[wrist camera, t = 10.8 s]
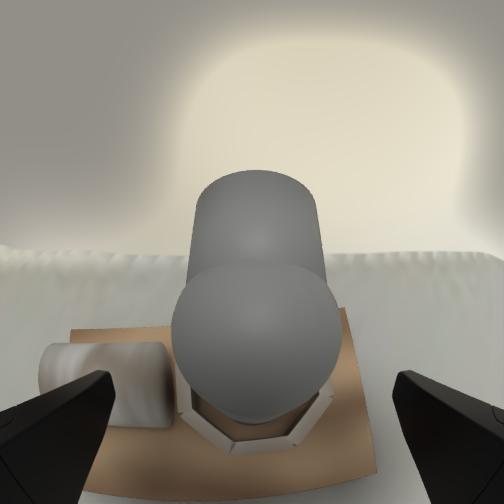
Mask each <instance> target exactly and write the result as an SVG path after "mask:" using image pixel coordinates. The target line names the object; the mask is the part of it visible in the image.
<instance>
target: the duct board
mask: <svg viewBox="0 0 504 504" xmlns="http://www.w3.org/2000/svg"><path fill="white" fill-rule="evenodd" d="M339 312H340V317H341V322H342V344H341V349H340V353H339V357H338V361H337V363H336V366H335V368H334V370H333V372H332V374H331V375H330V377H329V379H328V380H327V381H326V383H325V384H324V385H323V387H322V388H321V389H320V390H319V391H318V392H317V393H316V394H315V395H314V396H313V397H312V398H310V399H309V400H308V401H306V402H305V403H303V404H302V405H300V406H298V407H297V408H295V409H293V410H291V411H289V412H287V413H286V414H284V415H282V416H280V417H278V418H276V419H274V420H272V421H270V422H268V423H265V424H260V425H246V424H241V423H238V422H236V421H234V420H232V419H230V418H229V417H227V416H226V415H224V414H223V413H222V412H220V411H219V410H217V409H216V408H215V407H213V406H212V405H211V404H209V403H208V402H206V401H205V400H204V399H202V398H201V397H200V396H199V395H198V394H197V393H196V392H195V391H194V390H193V389H192V388H191V386H190V385H189V384H188V383H187V381H186V380H185V378H184V377H183V375H182V373H181V372H180V370H179V368H178V365H177V363H176V360H175V357H174V353H173V349H172V340H171V326H161V327H142V328H118V329H74V330H71V334H70V343H53V344H51V345H49V346H48V347H47V348H46V350H45V351H44V353H43V355H42V357H41V361H40V365H39V372H38V382H39V390H40V394H41V395H42V394H44V393H46V392H49V391H51V390H53V389H56V388H58V387H60V386H62V385H65V384H67V383H69V382H71V381H74V380H76V379H78V378H80V377H83V376H85V375H87V374H89V373H91V372H93V371H96V370H105V371H109V372H110V373H111V376H112V380H113V384H114V388H115V392H116V398H115V402H114V405H113V409H112V412H111V415H110V419H109V422H108V426H107V429H106V433H105V436H104V438H103V441H102V443H101V446H100V448H99V450H98V453H97V455H96V458H95V460H94V463H93V465H92V467H91V470H90V472H89V475H88V478H87V480H86V483H85V485H84V488H83V491H88V492H93V493H99V494H106V495H112V496H120V497H128V498H137V499H149V500H165V501H222V500H239V499H250V498H260V497H269V496H276V495H283V494H290V493H296V492H301V491H307V490H312V489H317V488H322V487H326V486H330V485H335V484H339V483H343V482H347V481H351V480H354V479H358V478H361V477H365V476H368V475H371V474H375V473H377V469H376V462H375V455H374V449H373V442H372V436H371V430H370V424H369V419H368V413H367V408H366V402H365V397H364V392H363V387H362V382H361V377H360V372H359V367H358V363H357V358H356V354H355V349H354V345H353V340H352V336H351V332H350V328H349V323H348V319H347V315H346V311H345V307H343V308H339Z"/></svg>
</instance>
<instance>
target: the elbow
mask: <svg viewBox="0 0 504 504" xmlns="http://www.w3.org/2000/svg"><path fill="white" fill-rule="evenodd" d="M171 340H172V349H173V353H174V357H175V360H176V363H177V365H178V368H179V370H180V372H181V373H182V375H183V377H184V378H185V380H186V381H187V383H188V384H189V385H190V386H191V388H192V389H193V390H194V391H195V392H196V393H197V394H198V395H199V396H200V397H201V398H202V399H204V400H205V401H206V402H208V403H209V404H211V405H212V406H213V407H215V408H216V409H217V410H219V411H220V412H222V413H223V414H224V415H226V416H227V417H229V418H230V419H232V420H234V421H236V422H238V423H241V424H246V425H260V424H265V423H268V422H270V421H272V420H274V419H276V418H278V417H280V416H282V415H284V414H286V413H287V412H289V411H291V410H293V409H295V408H297V407H298V406H300V405H302V404H303V403H305V402H306V401H308V400H309V399H310V398H312V397H313V396H314V395H315V394H316V393H317V392H318V391H319V390H320V389H321V388H322V387H323V385H324V384H325V383H326V381H327V380H328V379H329V377H330V375H331V374H332V372H333V370H334V368H335V366H336V363H337V361H338V357H339V353H340V349H341V344H342V322H341V317H340V312H339V308H338V305H337V302H336V300H335V298H334V296H333V294H332V292H331V290H330V289H329V287H328V286H327V280H326V272H325V264H324V256H323V250H322V242H321V236H320V228H319V222H318V216H317V209H316V204H315V200H314V198H313V196H312V194H311V193H310V191H309V190H308V189H307V188H306V187H305V186H304V185H303V184H301V183H300V182H299V181H297V180H295V179H293V178H291V177H289V176H286V175H284V174H280V173H277V172H272V171H263V170H247V171H240V172H236V173H232V174H229V175H226V176H223V177H221V178H219V179H217V180H216V181H214V182H213V183H211V184H210V185H209V186H208V187H207V188H205V190H204V191H203V192H202V193H201V195H200V197H199V199H198V202H197V205H196V212H195V219H194V226H193V233H192V240H191V248H190V256H189V264H188V272H187V280H186V286H185V288H184V289H183V291H182V293H181V295H180V297H179V299H178V301H177V304H176V307H175V310H174V313H173V318H172V323H171Z"/></svg>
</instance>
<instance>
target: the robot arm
mask: <svg viewBox="0 0 504 504" xmlns="http://www.w3.org/2000/svg"><path fill="white" fill-rule="evenodd" d="M115 398H116V392H115V388H114V384H113V380H112V376H111V373H110V372H109V371H105V370H96V371H93V372H91V373H89V374H87V375H85V376H83V377H80V378H78V379H76V380H74V381H71V382H69V383H67V384H65V385H62V386H60V387H58V388H56V389H53V390H51V391H49V392H46V393H44V394H42V395H40V396H37V397H35V398H33V399H30V400H28V401H25V402H23V403H21V404H18V405H17V406H13V407H11V408H9V409H6V410H4V411H1V412H0V504H78V501H79V498H80V496H81V493H82V490H83V488H84V485H85V483H86V480H87V478H88V475H89V472H90V470H91V467H92V465H93V463H94V460H95V458H96V455H97V453H98V450H99V448H100V446H101V443H102V441H103V438H104V436H105V433H106V429H107V426H108V422H109V419H110V415H111V412H112V409H113V405H114V402H115ZM392 398H393V402H394V405H395V408H396V412H397V415H398V418H399V422H400V425H401V429H402V432H403V435H404V437H405V440H406V442H407V445H408V447H409V449H410V452H411V454H412V456H413V459H414V461H415V464H416V466H417V469H418V471H419V474H420V476H421V479H422V481H423V484H424V486H425V489H426V491H427V494H428V497H429V499H430V502H431V504H504V410H503V409H500V408H498V407H495V406H491V405H490V404H488V403H486V402H483V401H481V400H478V399H476V398H474V397H471V396H469V395H466V394H464V393H462V392H459V391H457V390H455V389H452V388H450V387H448V386H445V385H443V384H441V383H438V382H436V381H434V380H432V379H429V378H427V377H425V376H423V375H420V374H418V373H416V372H414V371H411V370H407V371H401V372H399V373H398V375H397V377H396V381H395V385H394V389H393V393H392Z"/></svg>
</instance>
